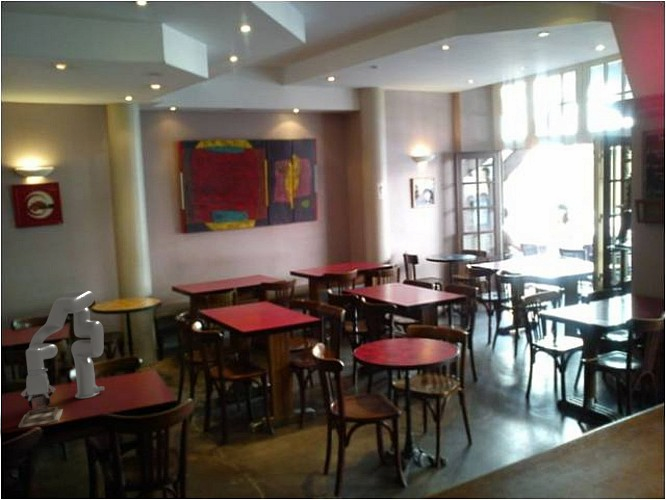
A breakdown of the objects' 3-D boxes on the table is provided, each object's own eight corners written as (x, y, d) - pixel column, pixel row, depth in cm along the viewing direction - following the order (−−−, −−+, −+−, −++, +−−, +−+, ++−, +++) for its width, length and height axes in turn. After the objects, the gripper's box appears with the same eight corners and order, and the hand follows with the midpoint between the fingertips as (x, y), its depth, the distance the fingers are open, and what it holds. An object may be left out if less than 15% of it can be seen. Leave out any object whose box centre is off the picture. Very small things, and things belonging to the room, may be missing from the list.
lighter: (34, 413, 303) (32, 394, 302) (30, 412, 305) (28, 393, 304) (49, 408, 310) (47, 389, 309) (45, 407, 312) (43, 388, 311)
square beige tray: (62, 411, 318) (62, 405, 318) (58, 421, 303) (57, 415, 302) (25, 416, 313) (24, 410, 313) (18, 427, 298) (18, 421, 297)
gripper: (56, 367, 312) (59, 401, 313) (18, 372, 307) (22, 406, 308) (53, 371, 304) (57, 406, 306) (15, 376, 299) (19, 411, 301)
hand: (39, 406), depth 307 cm, fingers closed on lighter, 6 cm apart
